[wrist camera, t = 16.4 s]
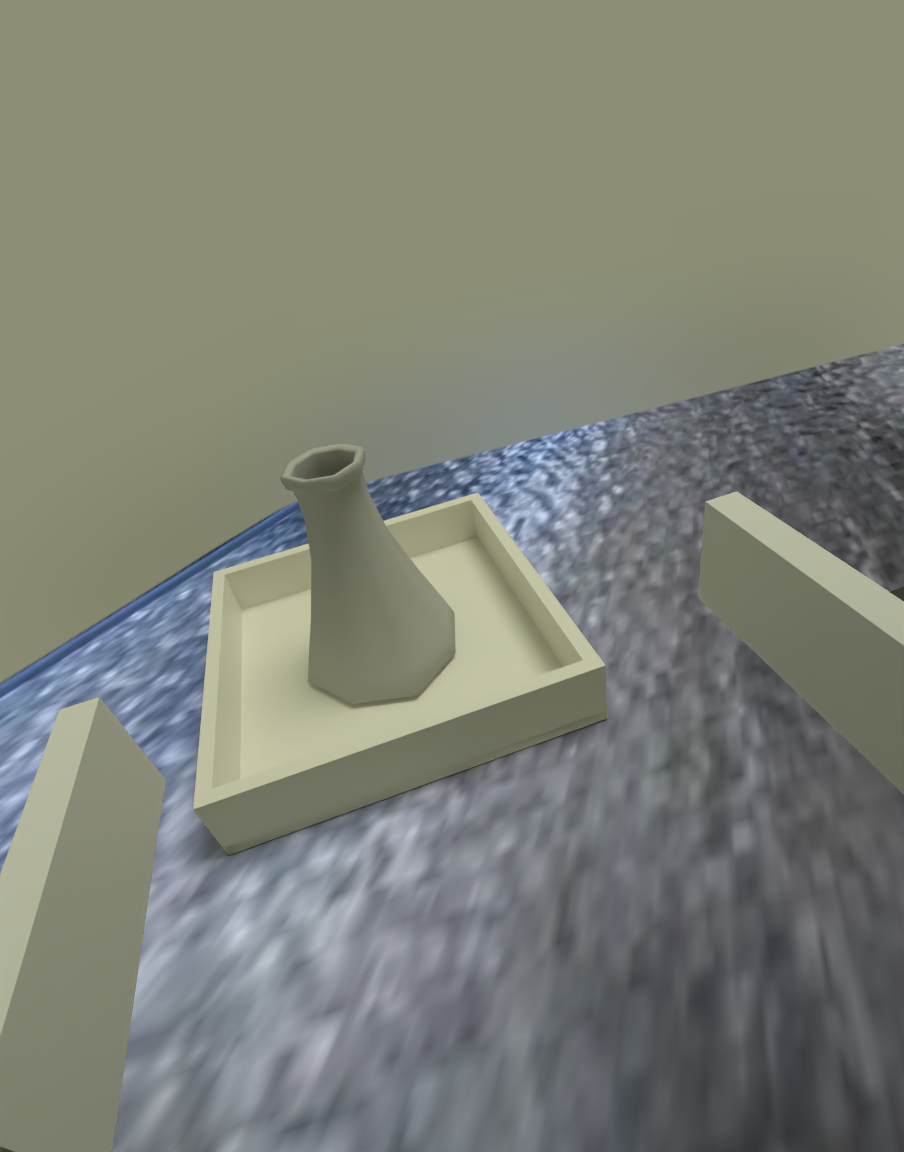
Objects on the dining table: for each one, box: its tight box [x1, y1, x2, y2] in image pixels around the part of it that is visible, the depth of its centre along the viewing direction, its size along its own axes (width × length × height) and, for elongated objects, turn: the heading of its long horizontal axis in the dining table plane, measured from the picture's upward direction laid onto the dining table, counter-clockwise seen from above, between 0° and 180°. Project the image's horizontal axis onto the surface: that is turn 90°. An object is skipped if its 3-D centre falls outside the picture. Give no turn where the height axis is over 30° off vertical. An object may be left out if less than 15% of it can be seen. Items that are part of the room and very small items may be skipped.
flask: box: [281, 444, 456, 704], centre depth 26 cm, size 7×7×10 cm
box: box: [193, 493, 607, 856], centre depth 28 cm, size 15×15×3 cm
